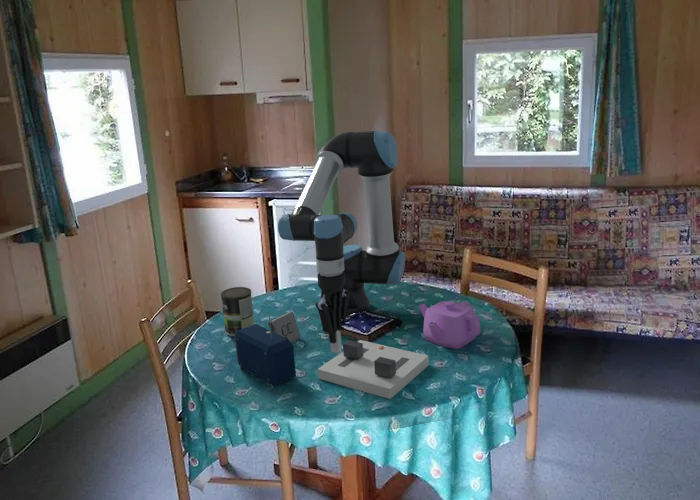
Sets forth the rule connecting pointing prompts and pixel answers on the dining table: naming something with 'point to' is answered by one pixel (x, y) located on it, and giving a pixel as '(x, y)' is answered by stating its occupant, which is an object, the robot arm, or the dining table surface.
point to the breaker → (385, 367)
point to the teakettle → (450, 324)
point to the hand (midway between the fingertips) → (336, 351)
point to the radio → (265, 354)
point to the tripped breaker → (353, 349)
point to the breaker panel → (363, 370)
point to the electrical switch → (286, 326)
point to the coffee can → (237, 309)
